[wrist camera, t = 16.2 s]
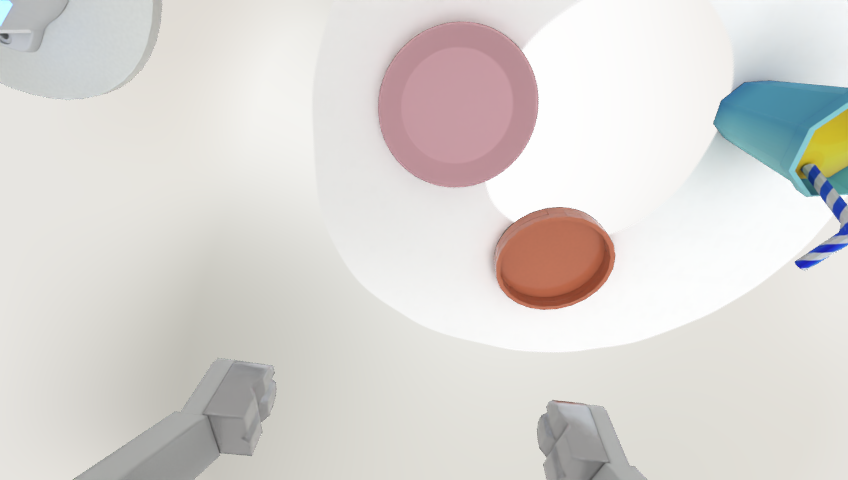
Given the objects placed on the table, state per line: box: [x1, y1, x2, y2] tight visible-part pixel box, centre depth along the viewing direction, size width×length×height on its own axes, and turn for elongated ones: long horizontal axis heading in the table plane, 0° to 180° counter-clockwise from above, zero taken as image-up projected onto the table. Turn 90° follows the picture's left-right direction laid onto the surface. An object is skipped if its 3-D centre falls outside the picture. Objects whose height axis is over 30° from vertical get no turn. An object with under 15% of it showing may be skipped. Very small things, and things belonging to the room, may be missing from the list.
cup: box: [713, 81, 848, 270], centre depth 27 cm, size 14×8×15 cm, turn 162°
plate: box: [378, 22, 538, 187], centre depth 33 cm, size 14×14×2 cm
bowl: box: [494, 207, 615, 310], centre depth 42 cm, size 13×13×2 cm
